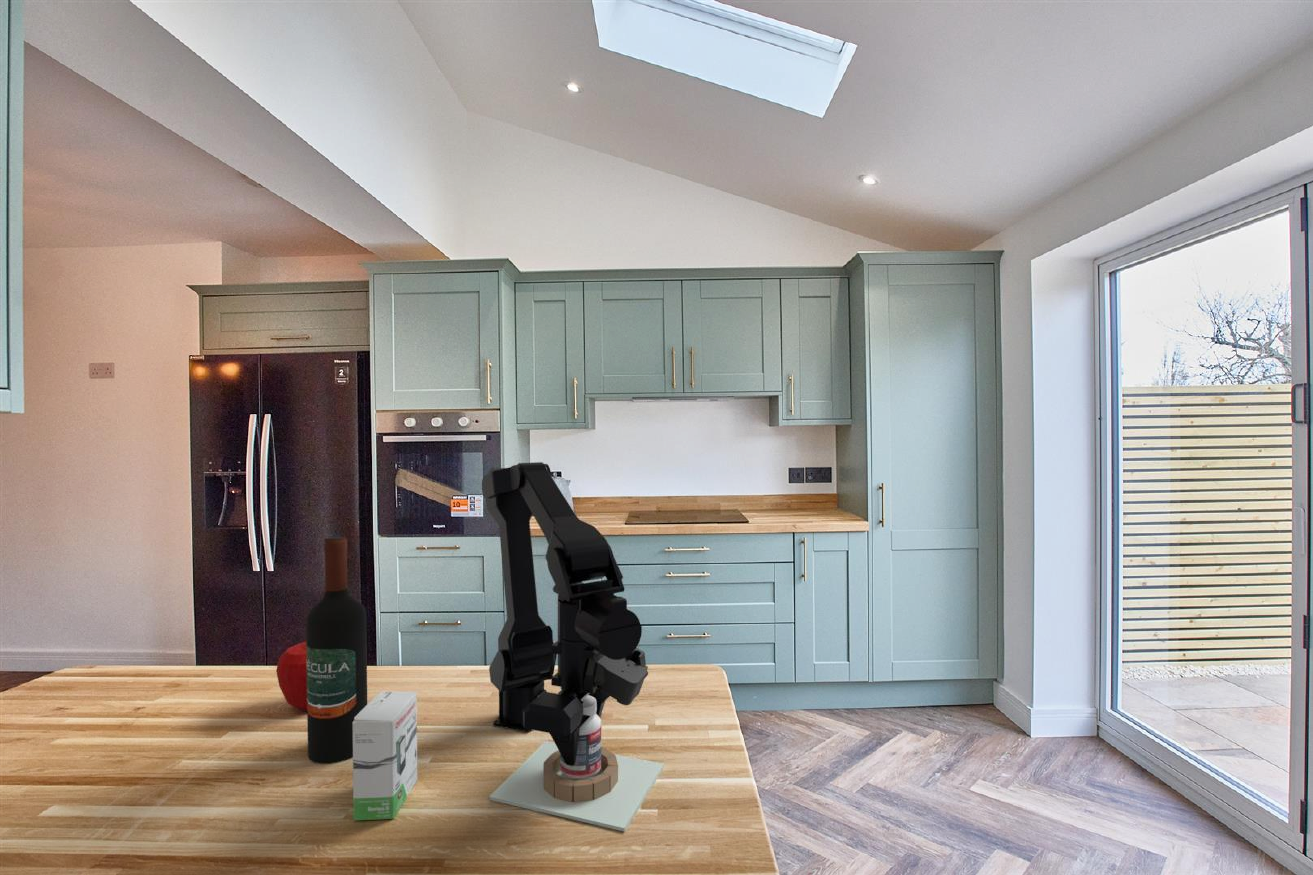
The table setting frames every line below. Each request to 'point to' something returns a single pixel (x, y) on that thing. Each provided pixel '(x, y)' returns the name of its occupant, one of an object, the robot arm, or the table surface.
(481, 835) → the table surface
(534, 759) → the collar board
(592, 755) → the pill bottle
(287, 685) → the apple
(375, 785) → the ink box
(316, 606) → the wine bottle
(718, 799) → the table surface
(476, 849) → the table surface
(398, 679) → the table surface
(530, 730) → the robot arm
